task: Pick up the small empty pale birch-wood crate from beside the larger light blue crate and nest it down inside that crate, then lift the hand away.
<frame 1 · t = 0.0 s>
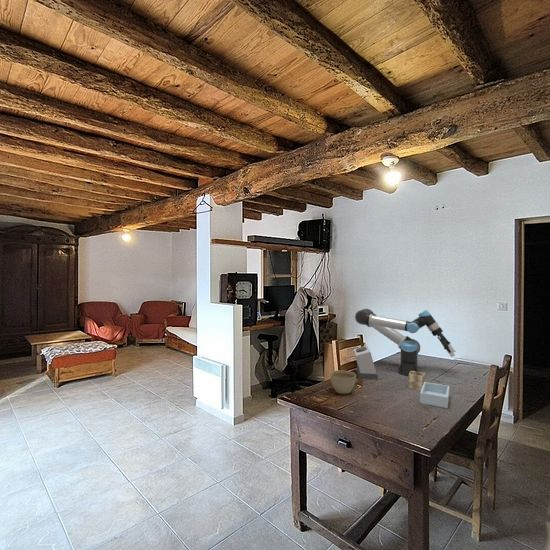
hand: (453, 354, 244), 15 cm above the table, tool tilted 35°, fingers open, 13 cm apart
light blue crate: (435, 399, 196), on the table
alarm clock: (365, 375, 243), on the table
birch crate: (416, 387, 217), on the table
planter bowl: (342, 391, 208), on the table
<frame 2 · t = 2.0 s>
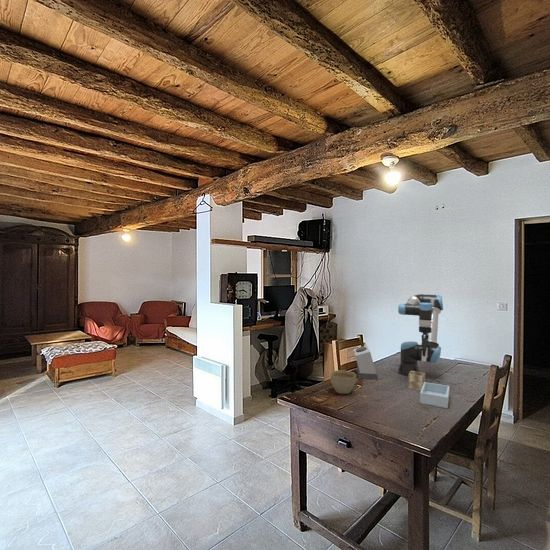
hand: (424, 359, 216), 19 cm above the table, tool pointing down, fingers open, 13 cm apart
nothing on the table moved.
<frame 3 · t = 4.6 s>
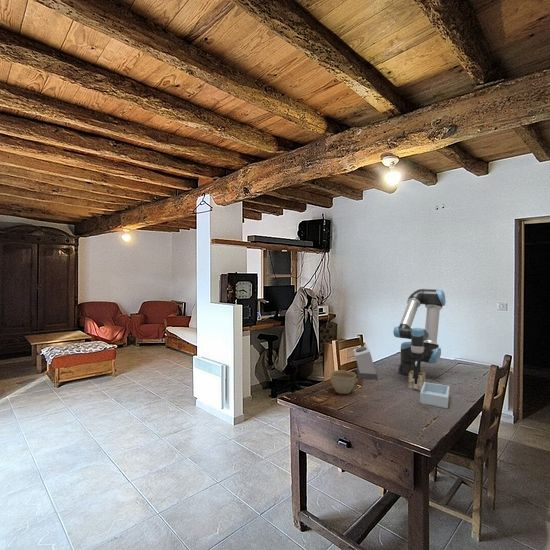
hand: (416, 386, 217), 1 cm above the table, tool pointing down, fingers closed on birch crate, 9 cm apart
birch crate: (416, 387, 217), on the table, touching gripper
everything else where it was.
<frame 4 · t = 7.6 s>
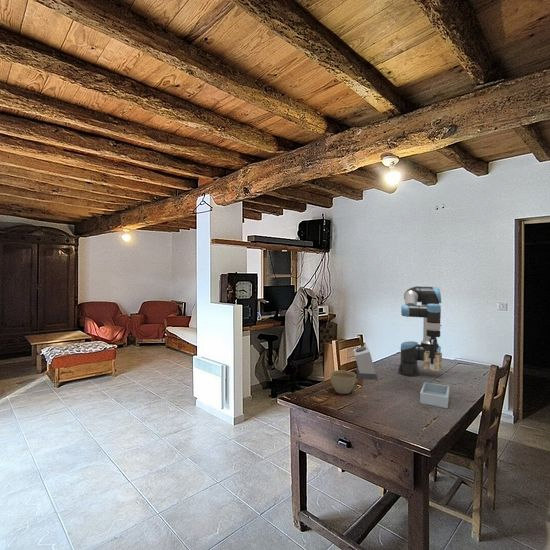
hand: (432, 367, 198), 18 cm above the table, tool pointing down, fingers closed on birch crate, 9 cm apart
birch crate: (432, 368, 198), point 18 cm above the table, touching gripper
everything else where it was.
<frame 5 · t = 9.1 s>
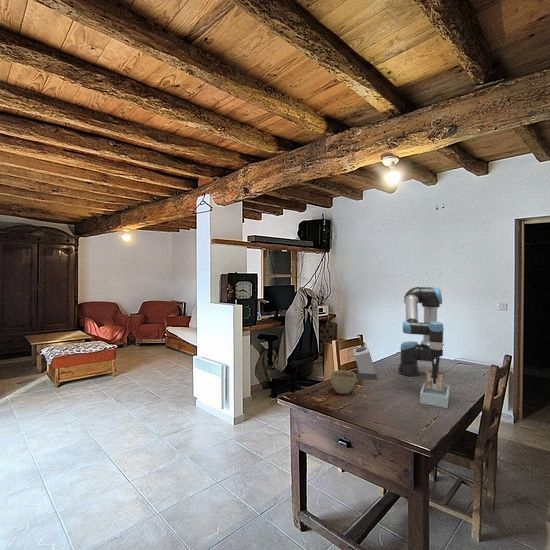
hand: (435, 386, 196), 8 cm above the table, tool pointing down, fingers closed on birch crate, 9 cm apart
birch crate: (435, 387, 196), point 7 cm above the table, touching gripper
everything else where it was.
when the fingers open (3 cm above the table, at t = 10.5 s): birch crate drops 2 cm, resting on light blue crate.
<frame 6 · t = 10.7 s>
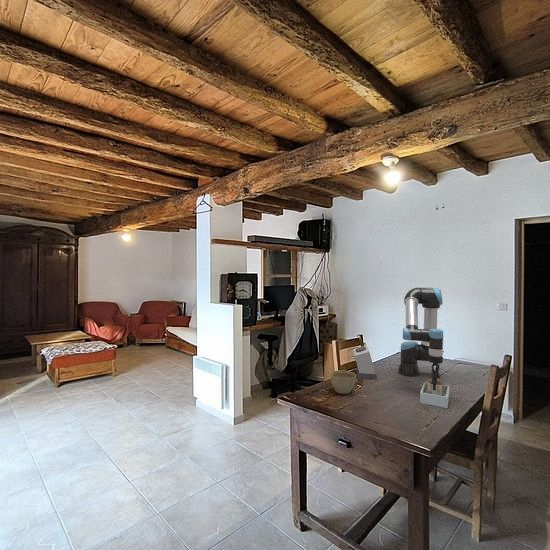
hand: (435, 392, 196), 4 cm above the table, tool pointing down, fingers open, 11 cm apart
birch crate: (435, 397, 196), point 1 cm above the table, touching light blue crate
everything else where it was.
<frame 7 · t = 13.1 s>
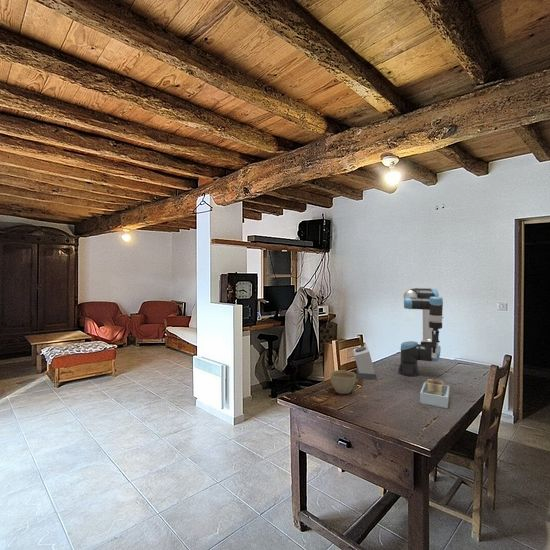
hand: (434, 355, 208), 23 cm above the table, tool pointing down, fingers open, 13 cm apart
nothing on the table moved.
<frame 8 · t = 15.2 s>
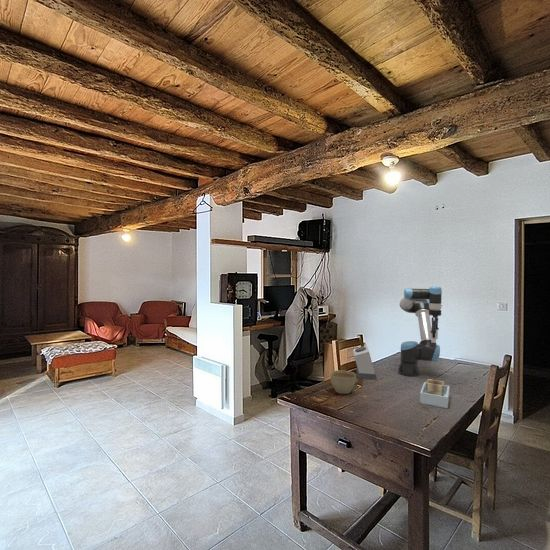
hand: (434, 340, 225), 29 cm above the table, tool pointing down, fingers open, 13 cm apart
nothing on the table moved.
at the end: birch crate inside the target area on the light blue crate (0.0 cm from its centre), point 1.0 cm above the light blue crate's base; birch crate tilted 0°; the gripper is holding nothing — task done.
